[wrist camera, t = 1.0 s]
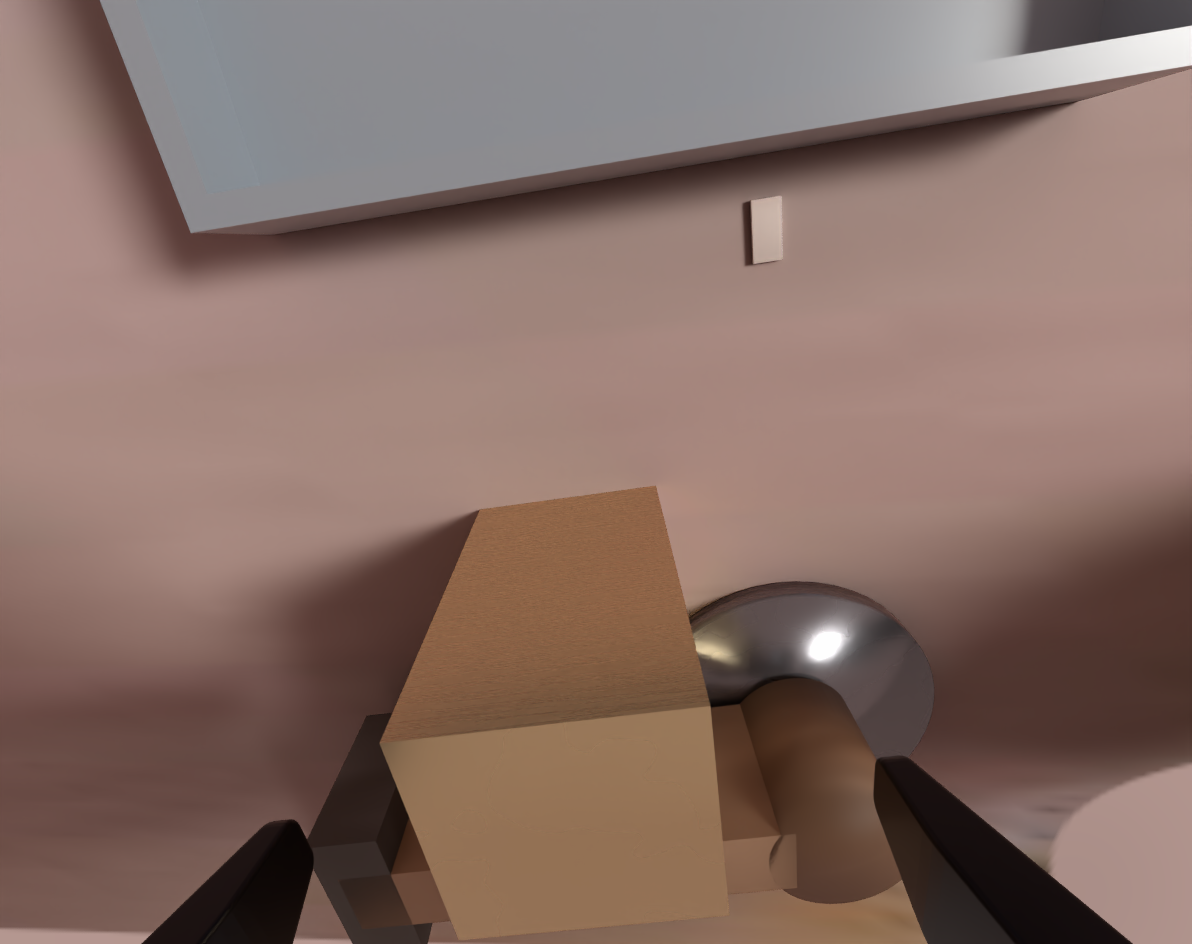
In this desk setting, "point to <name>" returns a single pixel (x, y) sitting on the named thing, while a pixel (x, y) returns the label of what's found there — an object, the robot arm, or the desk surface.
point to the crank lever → (746, 798)
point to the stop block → (562, 727)
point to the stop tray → (579, 88)
